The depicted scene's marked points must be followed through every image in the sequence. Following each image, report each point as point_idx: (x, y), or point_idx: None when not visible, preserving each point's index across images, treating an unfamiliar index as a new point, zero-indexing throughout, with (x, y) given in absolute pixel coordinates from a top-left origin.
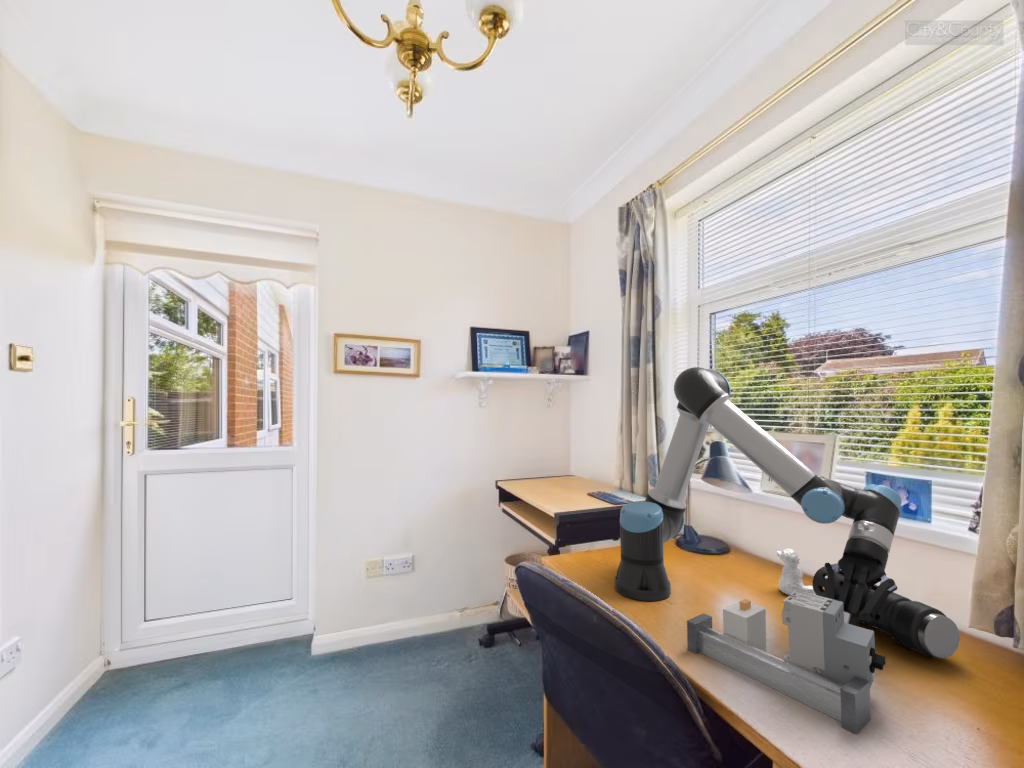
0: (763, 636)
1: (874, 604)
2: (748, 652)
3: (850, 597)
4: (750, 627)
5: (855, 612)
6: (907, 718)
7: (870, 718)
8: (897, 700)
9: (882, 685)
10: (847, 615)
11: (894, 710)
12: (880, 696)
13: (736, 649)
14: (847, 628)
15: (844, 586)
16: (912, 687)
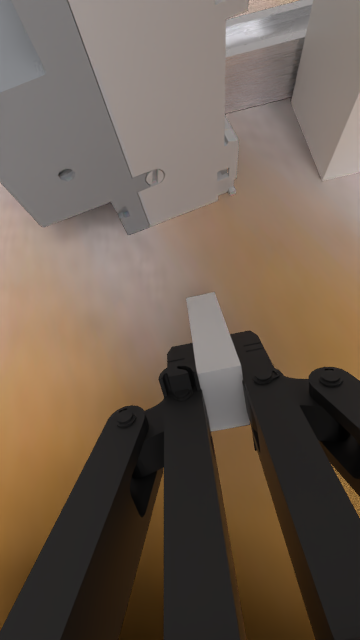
0: (334, 125)
1: (72, 492)
2: (258, 17)
3: (287, 543)
4: (322, 7)
5: (163, 374)
6: (3, 238)
7: None
8: (37, 284)
9: (82, 316)
10: (204, 363)
11: (27, 240)
12: (65, 263)
13: (285, 6)
14: (15, 47)
15: (350, 545)
16: (37, 382)
